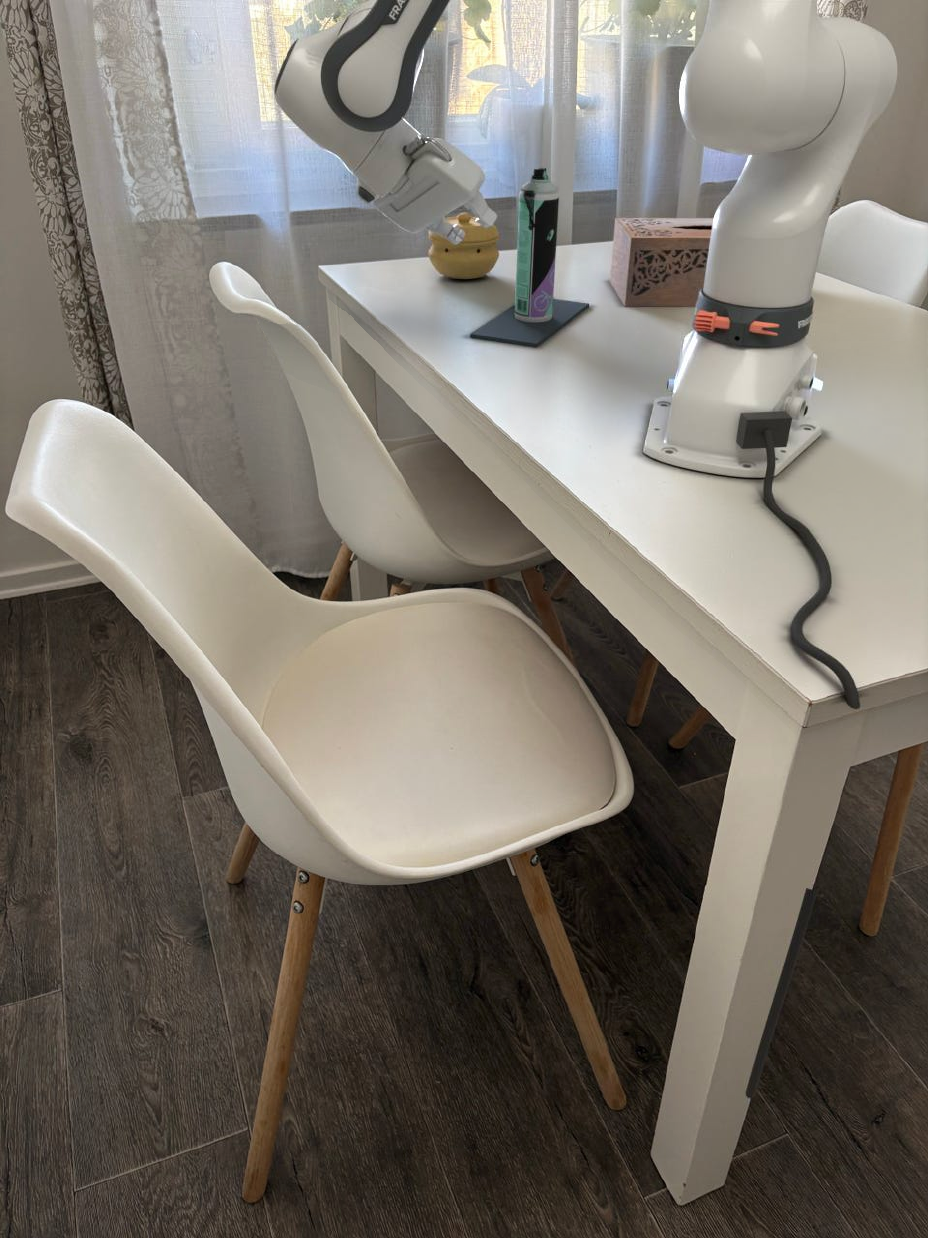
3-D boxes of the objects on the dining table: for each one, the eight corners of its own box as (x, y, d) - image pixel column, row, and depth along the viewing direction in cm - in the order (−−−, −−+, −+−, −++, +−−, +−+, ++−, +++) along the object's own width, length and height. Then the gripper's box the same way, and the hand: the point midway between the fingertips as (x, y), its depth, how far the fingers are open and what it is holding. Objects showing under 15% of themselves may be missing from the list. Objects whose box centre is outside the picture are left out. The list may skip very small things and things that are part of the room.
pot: (431, 266, 169) (430, 205, 163) (498, 268, 168) (500, 206, 163) (426, 284, 159) (425, 219, 154) (498, 285, 159) (499, 220, 153)
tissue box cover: (763, 281, 162) (774, 217, 157) (790, 305, 150) (803, 237, 145) (609, 281, 161) (615, 217, 156) (624, 306, 149) (631, 237, 144)
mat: (536, 347, 132) (536, 343, 132) (469, 337, 136) (469, 333, 135) (589, 306, 149) (589, 303, 149) (528, 298, 152) (528, 295, 152)
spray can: (549, 323, 140) (558, 172, 129) (511, 320, 141) (517, 170, 130) (554, 312, 144) (563, 165, 133) (517, 310, 145) (523, 164, 134)
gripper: (437, 108, 111) (525, 189, 117) (376, 161, 130) (456, 229, 136) (409, 153, 111) (500, 232, 117) (353, 200, 129) (434, 266, 135)
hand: (476, 231), depth 126 cm, fingers open, 8 cm apart
